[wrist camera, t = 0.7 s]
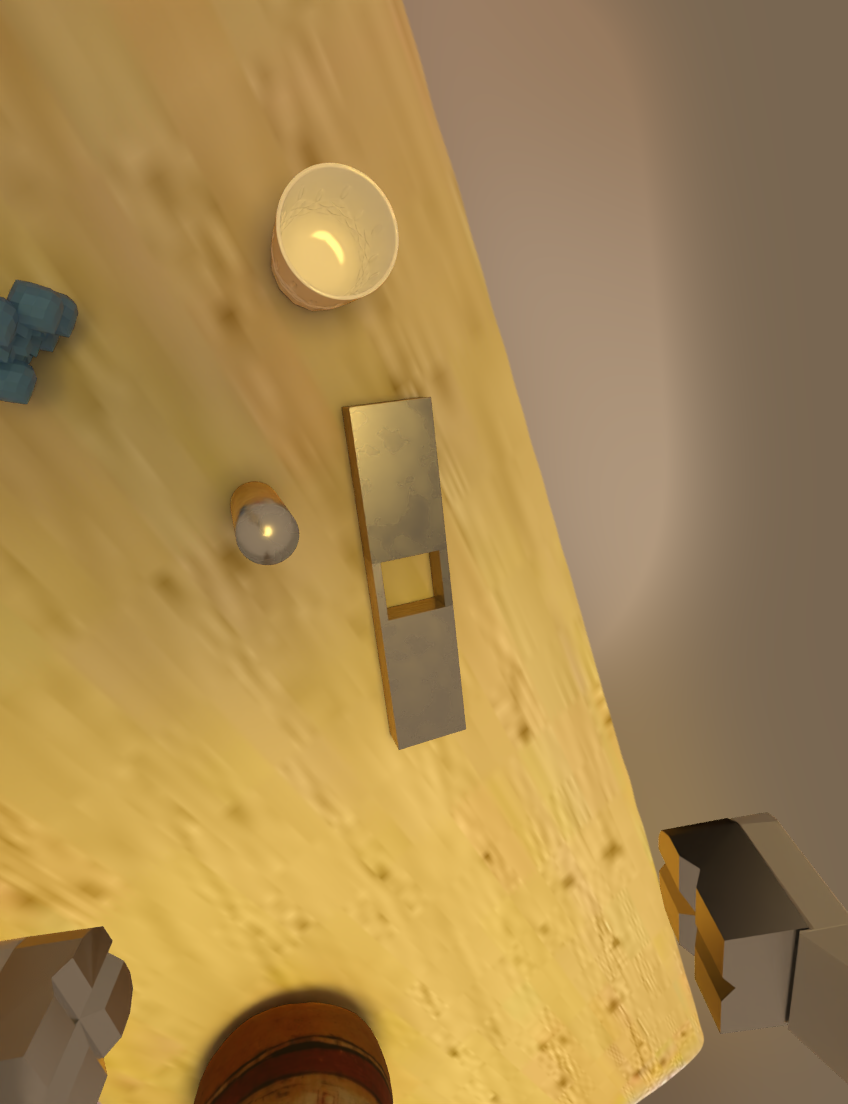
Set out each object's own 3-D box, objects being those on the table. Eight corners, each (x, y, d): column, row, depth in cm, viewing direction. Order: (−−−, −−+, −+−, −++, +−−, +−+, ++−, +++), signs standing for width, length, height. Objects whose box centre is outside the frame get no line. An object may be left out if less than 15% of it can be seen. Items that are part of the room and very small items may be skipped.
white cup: (326, 190, 46) (355, 137, 36) (381, 286, 49) (420, 259, 39) (241, 243, 44) (249, 203, 35) (302, 338, 47) (325, 323, 38)
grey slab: (341, 407, 50) (349, 407, 47) (419, 397, 52) (430, 397, 49) (390, 733, 59) (398, 749, 56) (454, 714, 61) (466, 729, 58)
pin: (225, 485, 48) (230, 510, 37) (274, 477, 49) (293, 500, 38) (235, 532, 49) (242, 570, 38) (283, 523, 50) (303, 558, 39)
